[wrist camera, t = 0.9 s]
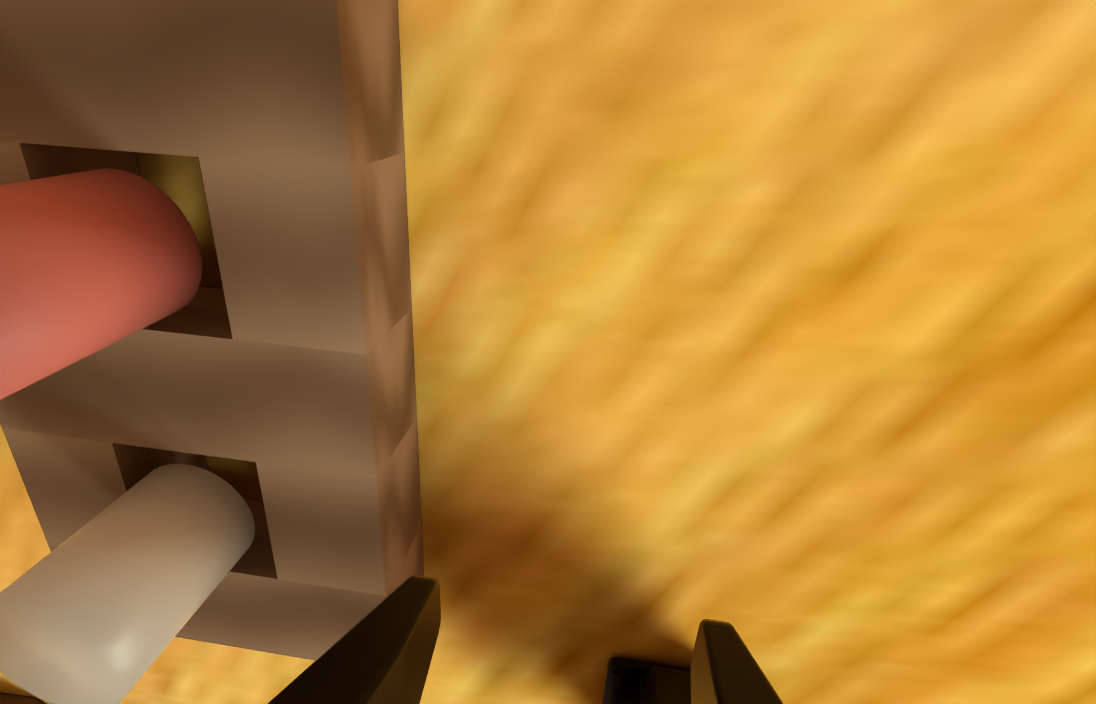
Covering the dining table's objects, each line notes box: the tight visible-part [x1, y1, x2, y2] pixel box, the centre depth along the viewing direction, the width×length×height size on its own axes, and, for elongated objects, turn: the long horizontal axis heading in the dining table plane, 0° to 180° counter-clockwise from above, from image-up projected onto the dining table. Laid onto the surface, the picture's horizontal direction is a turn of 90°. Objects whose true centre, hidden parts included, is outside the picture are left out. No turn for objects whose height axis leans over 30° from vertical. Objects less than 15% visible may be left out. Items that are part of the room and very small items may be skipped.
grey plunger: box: [0, 464, 255, 704], centre depth 19 cm, size 4×4×6 cm
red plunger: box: [0, 169, 202, 400], centre depth 15 cm, size 4×4×6 cm
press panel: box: [0, 0, 424, 660], centre depth 21 cm, size 24×14×4 cm, turn 177°
